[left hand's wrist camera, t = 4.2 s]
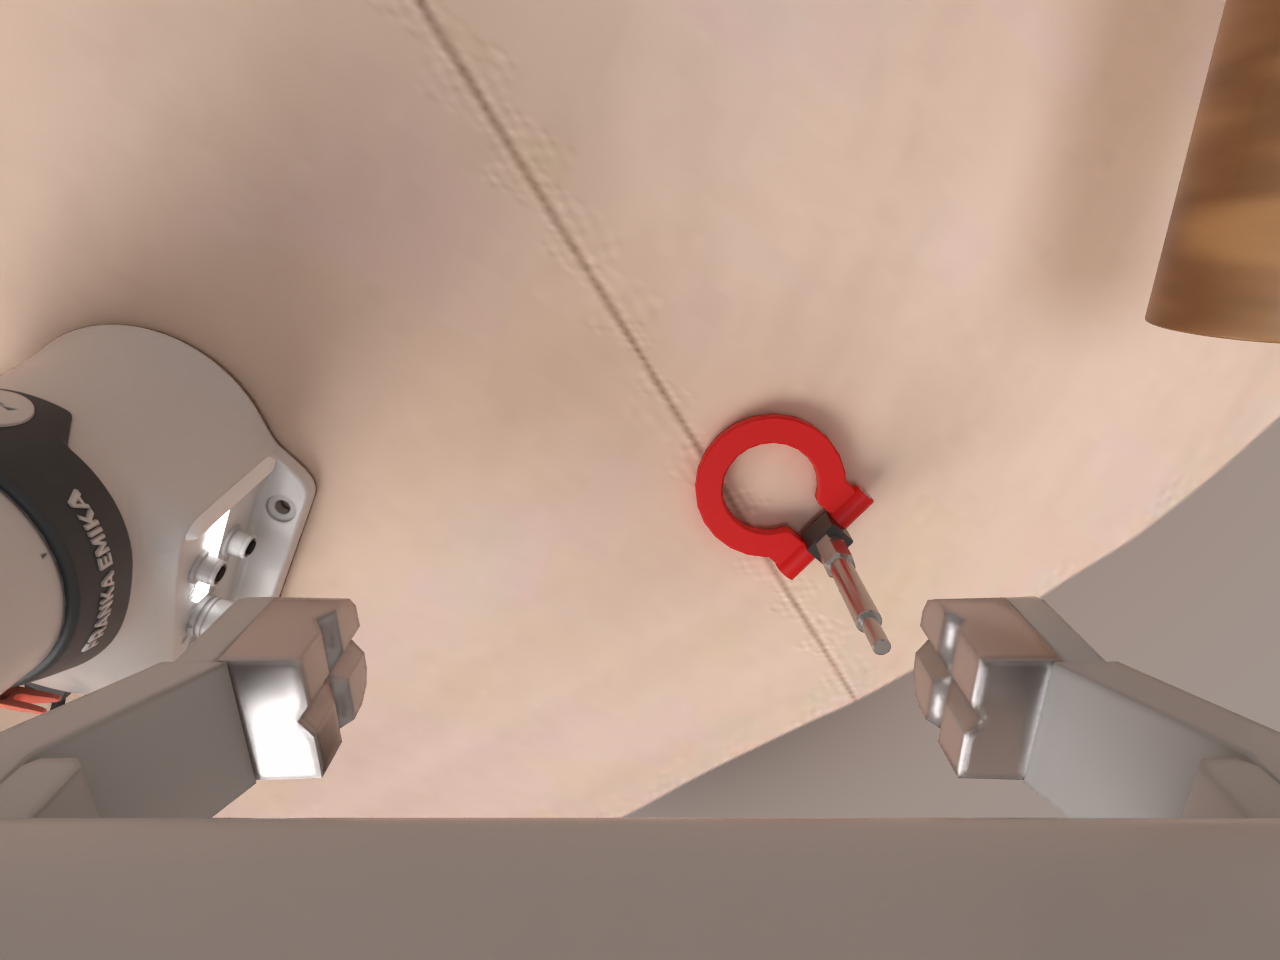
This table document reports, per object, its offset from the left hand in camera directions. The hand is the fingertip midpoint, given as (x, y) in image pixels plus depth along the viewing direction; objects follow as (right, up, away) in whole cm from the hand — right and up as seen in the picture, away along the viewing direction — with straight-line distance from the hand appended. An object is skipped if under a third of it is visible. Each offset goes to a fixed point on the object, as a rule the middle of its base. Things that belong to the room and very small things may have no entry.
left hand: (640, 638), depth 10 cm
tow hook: (+8, +2, +32) cm, 33 cm away
